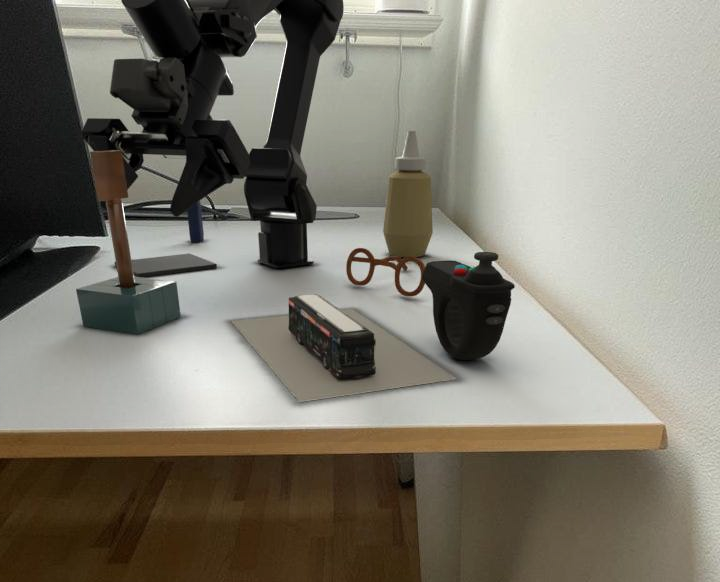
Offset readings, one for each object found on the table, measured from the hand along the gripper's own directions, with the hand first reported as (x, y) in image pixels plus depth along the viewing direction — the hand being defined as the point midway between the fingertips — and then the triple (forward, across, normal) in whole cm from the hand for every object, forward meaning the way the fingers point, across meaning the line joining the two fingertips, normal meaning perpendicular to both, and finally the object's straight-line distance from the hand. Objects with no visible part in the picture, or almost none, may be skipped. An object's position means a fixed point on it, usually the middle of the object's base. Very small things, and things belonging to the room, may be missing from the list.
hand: (137, 211), depth 71 cm
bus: (+10, +24, +6) cm, 26 cm away
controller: (+8, +36, +8) cm, 38 cm away
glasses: (-11, +22, +26) cm, 36 cm away
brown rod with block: (+10, 0, +6) cm, 12 cm away
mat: (-8, -15, +23) cm, 29 cm away
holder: (+10, 0, +5) cm, 12 cm away
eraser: (-22, -24, +38) cm, 50 cm away
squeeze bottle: (-25, +15, +40) cm, 50 cm away
